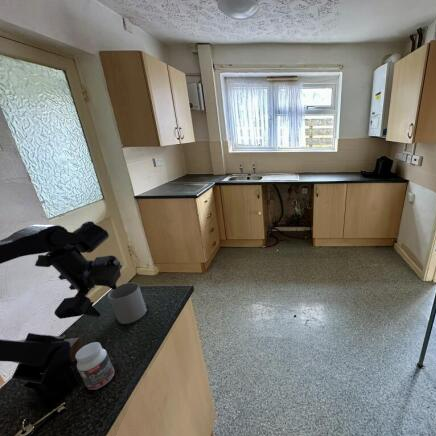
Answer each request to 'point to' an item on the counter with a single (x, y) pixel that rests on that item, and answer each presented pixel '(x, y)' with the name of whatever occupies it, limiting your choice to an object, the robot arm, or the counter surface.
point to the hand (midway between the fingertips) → (107, 301)
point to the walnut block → (74, 348)
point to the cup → (127, 303)
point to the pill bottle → (94, 365)
